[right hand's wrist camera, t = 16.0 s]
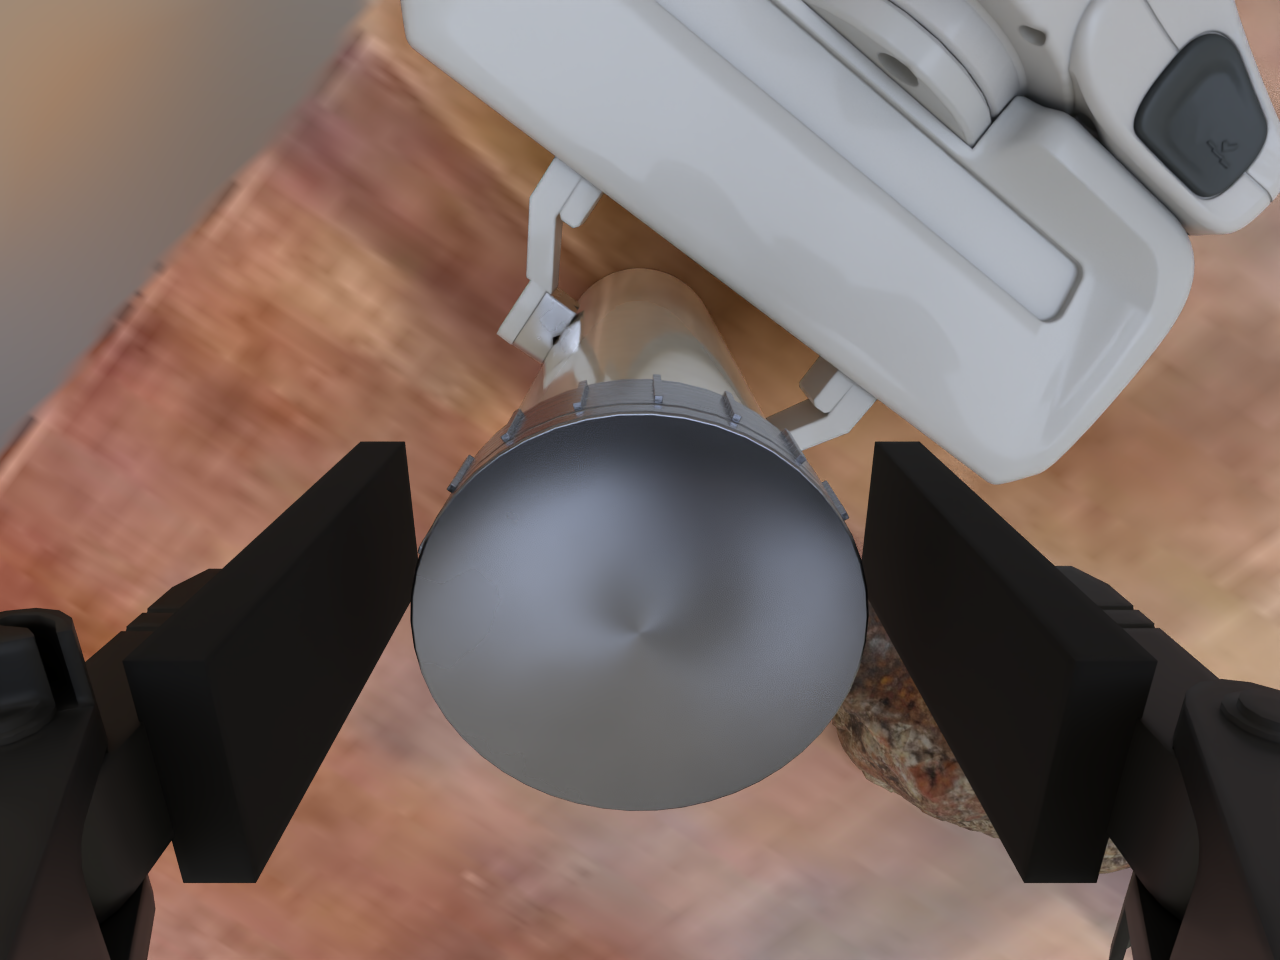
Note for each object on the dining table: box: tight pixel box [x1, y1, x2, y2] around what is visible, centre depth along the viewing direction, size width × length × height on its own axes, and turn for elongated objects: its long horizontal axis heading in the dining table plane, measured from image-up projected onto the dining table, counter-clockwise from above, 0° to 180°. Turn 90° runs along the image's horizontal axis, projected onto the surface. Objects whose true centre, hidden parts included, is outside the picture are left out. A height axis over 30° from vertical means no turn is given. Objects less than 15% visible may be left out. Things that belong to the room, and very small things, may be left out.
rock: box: [833, 600, 1130, 874], centre depth 29 cm, size 14×9×10 cm
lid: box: [410, 374, 869, 811], centre depth 11 cm, size 6×6×2 cm
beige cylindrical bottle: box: [520, 268, 766, 419], centre depth 19 cm, size 5×5×19 cm
